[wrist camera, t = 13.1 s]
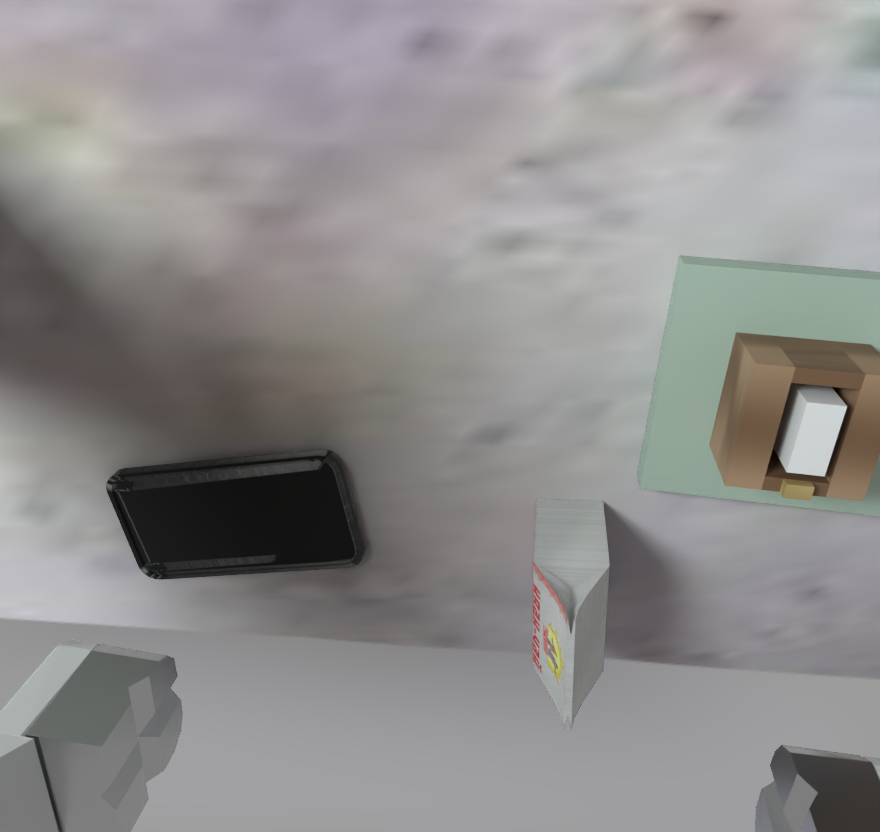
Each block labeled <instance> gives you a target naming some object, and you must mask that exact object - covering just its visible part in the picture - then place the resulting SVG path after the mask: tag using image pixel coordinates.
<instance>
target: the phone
mask: <svg viewBox="0 0 880 832" xmlns="http://www.w3.org/2000/svg"><path fill="white" fill-rule="evenodd" d="M106 488H107V492H108V495H109V497H110V500H111V502H112V504H113V507H114V509H115V512H116V514H117V516H118V519H119V521H120V523H121V526H122V528H123V531H124V533H125V535H126V538H127V540H128V542H129V545H130V547H131V550H132V552H133V554H134V557H135V559H136V561H137V564H138V566H139V568H140V569H141V571H142V572H143V573H144V574H146V575H147V576H149V577H151V578H154V579H174V578H190V577H206V576H222V575H238V574H254V573H269V572H285V571H301V570H317V569H333V568H349V567H353V566H355V565H357V564H358V563H359V562H360V561H361V559H362V557H363V554H364V551H365V541H364V537H363V534H362V530H361V526H360V522H359V518H358V515H357V511H356V507H355V503H354V499H353V496H352V492H351V488H350V484H349V481H348V477H347V473H346V469H345V465H344V463H343V461H342V459H341V458H340V457H339V456H338V455H337V454H335V453H334V452H332V451H329V450H323V449H319V450H309V451H299V452H288V453H278V454H268V455H258V456H247V457H237V458H227V459H216V460H206V461H196V462H186V463H175V464H165V465H155V466H144V467H134V468H124V469H120V470H119V471H117V472H116V473H115V474H114V475H113V476H112V477H111V478H110V479H109V480H108V482H107V486H106Z"/></svg>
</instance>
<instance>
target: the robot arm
mask: <svg viewBox="0 0 880 832" xmlns="http://www.w3.org/2000/svg"><path fill="white" fill-rule="evenodd" d="M176 678H177V672H176V667H175V661H174V658H171V657H169V656H166V655H160V654H155V653H149V652H143V651H137V650H132V649H126V648H120V647H115V646H109V645H103V644H102V645H100V644H94V643H88V642H83V641H76V640H71V639H68V640H67V641H65V642H63V643H61V644H59V645H58V646H56V648H55V649H54V650H53V651H52V652H51V653H50V654H49V656H48V657H47V658H46V659H45V660H44V661H43V663H42V664H41V665H40V666H39V667H38V668H37V670H36V671H35V672H34V673H33V674H32V675H31V677H30V678H29V679H28V680H27V681H26V682H25V684H24V685H23V686H22V687H21V688H20V689H19V691H18V692H17V693H16V694H15V695H14V696H13V698H12V699H11V700H10V701H9V702H8V703H7V705H6V706H5V707H4V708H3V709H2V710H1V712H0V832H130V831H131V830H132V828H133V826H134V824H135V823H136V821H137V819H138V817H139V815H140V814H141V812H142V810H143V808H144V806H145V805H146V802H147V801H148V793H147V787H146V782H147V781H149V780H150V779H152V778H153V777H155V776H156V775H158V774H159V773H161V772H162V771H164V770H165V768H166V766H167V765H168V763H169V761H170V759H171V757H172V755H173V753H174V751H175V748H176V745H177V741H178V738H179V735H180V732H181V725H182V705H181V700H180V698H179V697H178V696H177V695H176V694H175V693H174V692H173V691H172V689H171V686H172V684H173V683H174V681H175V679H176ZM770 766H771V770H772V773H773V777H774V782H772V783H771V784H769V785H767V786H766V787H764V788H762V789H761V793H760V796H759V799H758V803H757V806H756V819H755V832H880V759H878V758H871V757H861V756H859V755H851V754H844V753H836V752H829V751H822V750H814V749H807V748H800V747H792V746H785V745H781V746H780V747H779V748H778V749H777V750H776V751H775V753H774V756H773V758H772V761H771V764H770Z"/></svg>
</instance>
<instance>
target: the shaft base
mask: <svg viewBox="0 0 880 832" xmlns="http://www.w3.org/2000/svg"><path fill="white" fill-rule="evenodd" d="M736 332H739V333H750V334H761V335H772V336H783V337H794V338H805V339H816V340H827V341H838V342H849V343H860V344H871V345H872V346H873V347H874V348H875V349H876V350H877V351H878V352H879V353H880V272H871V271H859V270H847V269H834V268H822V267H810V266H798V265H786V264H774V263H761V262H749V261H737V260H725V259H713V258H701V257H688V256H679V260H678V265H677V270H676V276H675V281H674V286H673V291H672V296H671V302H670V307H669V312H668V317H667V322H666V328H665V333H664V338H663V343H662V348H661V354H660V359H659V364H658V369H657V374H656V379H655V385H654V390H653V395H652V400H651V405H650V411H649V416H648V421H647V426H646V431H645V437H644V442H643V447H642V452H641V457H640V463H639V468H638V473H637V476H638V482H639V487H640V489H645V490H654V491H662V492H671V493H680V494H688V495H697V496H706V497H714V498H723V499H732V500H740V501H749V502H758V503H767V504H775V505H784V506H793V507H801V508H810V509H819V510H827V511H836V512H845V513H853V514H862V515H871V516H879V517H880V455H879V458H878V460H877V463H876V466H875V469H874V472H873V475H872V477H871V480H870V483H869V486H868V489H867V492H866V494H865V497H864V500H863V501H856V500H847V499H838V498H829V497H820V496H812V498H811V501H807V500H798V499H789V498H782V496H781V494H780V492H776V491H767V490H758V489H749V488H740V487H732V486H725V485H724V482H723V479H722V477H721V474H720V472H719V469H718V466H717V464H716V461H715V459H714V456H713V453H712V451H711V448H710V446H709V444H710V440H711V435H712V431H713V427H714V423H715V418H716V414H717V410H718V406H719V401H720V397H721V393H722V389H723V385H724V380H725V376H726V372H727V368H728V363H729V359H730V355H731V351H732V346H733V342H734V338H735V334H736ZM846 409H847V405H846V404H845V403H844V402H843V401H842V399H841V398H840V397H839V396H838V394H837V393H836V392H835V391H834V390H833V388H832V387H829V386H819V385H808V384H798V383H791V385H790V389H789V393H788V396H787V400H786V403H785V407H784V410H783V414H782V418H781V421H780V425H779V428H778V432H777V435H776V439H775V443H774V446H773V448H774V450H775V452H776V454H777V456H778V457H779V459H780V461H781V463H782V465H783V467H784V468H785V470H786V472H788V473H797V474H806V475H815V476H824V477H825V474H826V471H827V468H828V465H829V462H830V458H831V455H832V452H833V449H834V446H835V443H836V440H837V437H838V434H839V430H840V427H841V424H842V421H843V418H844V415H845V412H846Z"/></svg>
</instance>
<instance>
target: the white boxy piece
mask: <svg viewBox="0 0 880 832" xmlns="http://www.w3.org/2000/svg"><path fill="white" fill-rule="evenodd" d="M609 571H610V562H609V553H608V543H607V533H606V523H605V513H604V504H603V501H590V500H562V499H537V500H536V521H535V542H534V569H533V667H534V669H535V670H536V672H537V674H538V676H539V677H540V679H541V681H542V682H543V684H544V686H545V688H546V689H547V691H548V693H549V694H550V696H551V698H552V700H553V701H554V704H555V706H556V708H557V710H558V713H559V715H560V717H561V721H562V725H563V728H564V727H565V724H566V721H567V717H568V718H569V723H570V727H571V728H572V725H573V722H574V718H575V716H576V714H577V712H578V710H579V708H580V706H581V705H582V703H583V701H584V699H585V698H586V696H587V695H588V693H589V692H590V690H591V689H592V687H593V686H594V684H595V682H596V681H597V679H598V678H599V676H600V675H601V673H602V672H603V668H604V651H605V635H606V619H607V603H608V587H609Z"/></svg>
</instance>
